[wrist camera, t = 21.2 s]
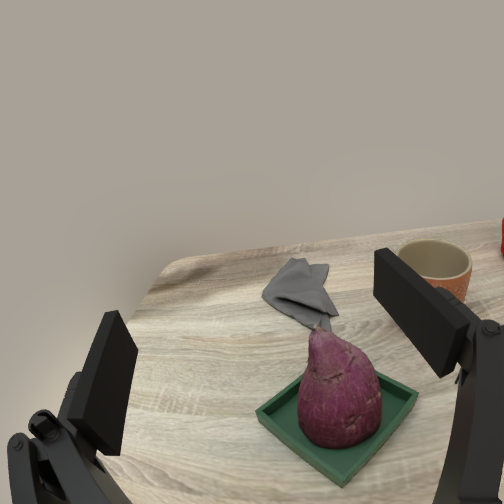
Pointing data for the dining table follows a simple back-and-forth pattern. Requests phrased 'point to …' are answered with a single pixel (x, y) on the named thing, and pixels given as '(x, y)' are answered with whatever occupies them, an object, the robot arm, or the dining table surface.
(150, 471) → the dining table surface
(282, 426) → the green tray
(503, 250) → the apple
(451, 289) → the planter
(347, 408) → the vegetable
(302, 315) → the cloth
